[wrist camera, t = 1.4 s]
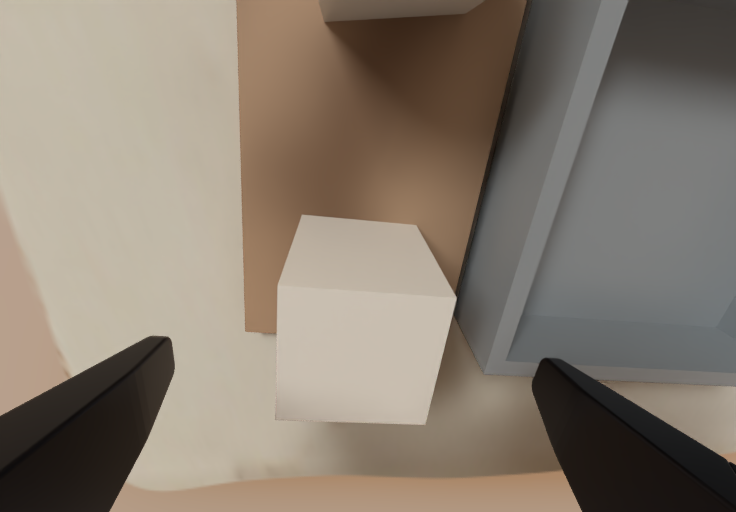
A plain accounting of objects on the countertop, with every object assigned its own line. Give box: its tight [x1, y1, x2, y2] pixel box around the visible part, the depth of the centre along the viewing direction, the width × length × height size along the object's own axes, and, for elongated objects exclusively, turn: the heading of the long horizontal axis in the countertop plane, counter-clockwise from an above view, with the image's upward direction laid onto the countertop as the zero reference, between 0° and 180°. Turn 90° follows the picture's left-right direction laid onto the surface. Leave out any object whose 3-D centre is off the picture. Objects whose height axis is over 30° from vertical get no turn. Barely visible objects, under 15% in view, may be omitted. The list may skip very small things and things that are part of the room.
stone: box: [275, 215, 457, 425], centre depth 11 cm, size 4×4×5 cm
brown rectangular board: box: [236, 0, 527, 333], centre depth 12 cm, size 8×16×1 cm, turn 173°
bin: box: [454, 0, 736, 387], centre depth 12 cm, size 12×12×4 cm
